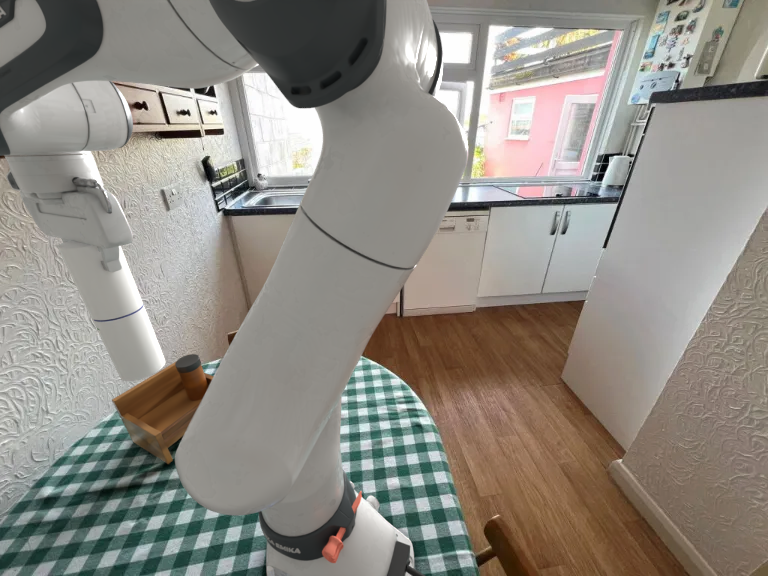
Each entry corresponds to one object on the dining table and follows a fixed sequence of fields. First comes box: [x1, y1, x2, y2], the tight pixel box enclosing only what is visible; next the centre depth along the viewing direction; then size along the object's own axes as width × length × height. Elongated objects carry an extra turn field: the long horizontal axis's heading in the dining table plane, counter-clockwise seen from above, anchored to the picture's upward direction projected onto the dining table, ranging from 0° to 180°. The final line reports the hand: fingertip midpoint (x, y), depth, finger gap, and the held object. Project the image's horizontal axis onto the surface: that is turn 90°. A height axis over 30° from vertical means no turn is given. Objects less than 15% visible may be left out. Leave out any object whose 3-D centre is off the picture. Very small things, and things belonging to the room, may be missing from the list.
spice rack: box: [111, 353, 214, 465], centre depth 67 cm, size 12×16×15 cm
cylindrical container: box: [56, 240, 166, 382], centre depth 54 cm, size 7×7×25 cm
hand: (99, 266), depth 51 cm, fingers closed on cylindrical container, 7 cm apart
